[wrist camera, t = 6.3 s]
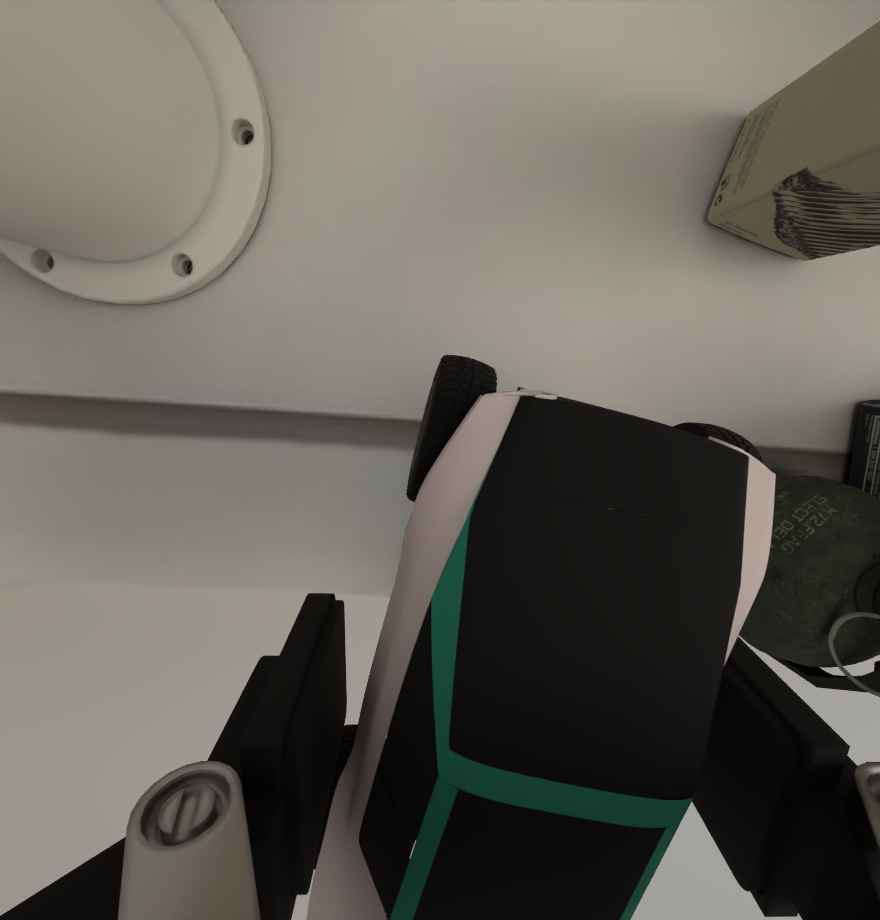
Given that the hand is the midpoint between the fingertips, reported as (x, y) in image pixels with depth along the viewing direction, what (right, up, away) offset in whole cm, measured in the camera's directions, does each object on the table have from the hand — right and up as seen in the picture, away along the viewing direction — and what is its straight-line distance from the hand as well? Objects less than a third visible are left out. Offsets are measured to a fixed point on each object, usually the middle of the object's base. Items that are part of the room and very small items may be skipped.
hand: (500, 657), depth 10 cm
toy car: (0, 0, +1) cm, 1 cm away
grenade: (+14, 0, +13) cm, 19 cm away
